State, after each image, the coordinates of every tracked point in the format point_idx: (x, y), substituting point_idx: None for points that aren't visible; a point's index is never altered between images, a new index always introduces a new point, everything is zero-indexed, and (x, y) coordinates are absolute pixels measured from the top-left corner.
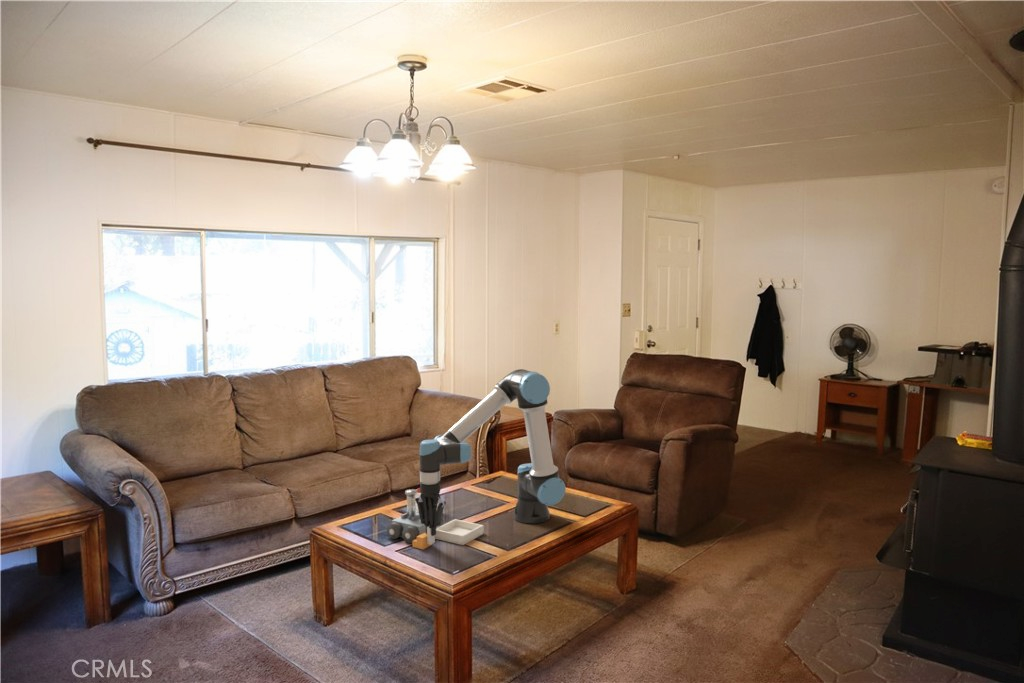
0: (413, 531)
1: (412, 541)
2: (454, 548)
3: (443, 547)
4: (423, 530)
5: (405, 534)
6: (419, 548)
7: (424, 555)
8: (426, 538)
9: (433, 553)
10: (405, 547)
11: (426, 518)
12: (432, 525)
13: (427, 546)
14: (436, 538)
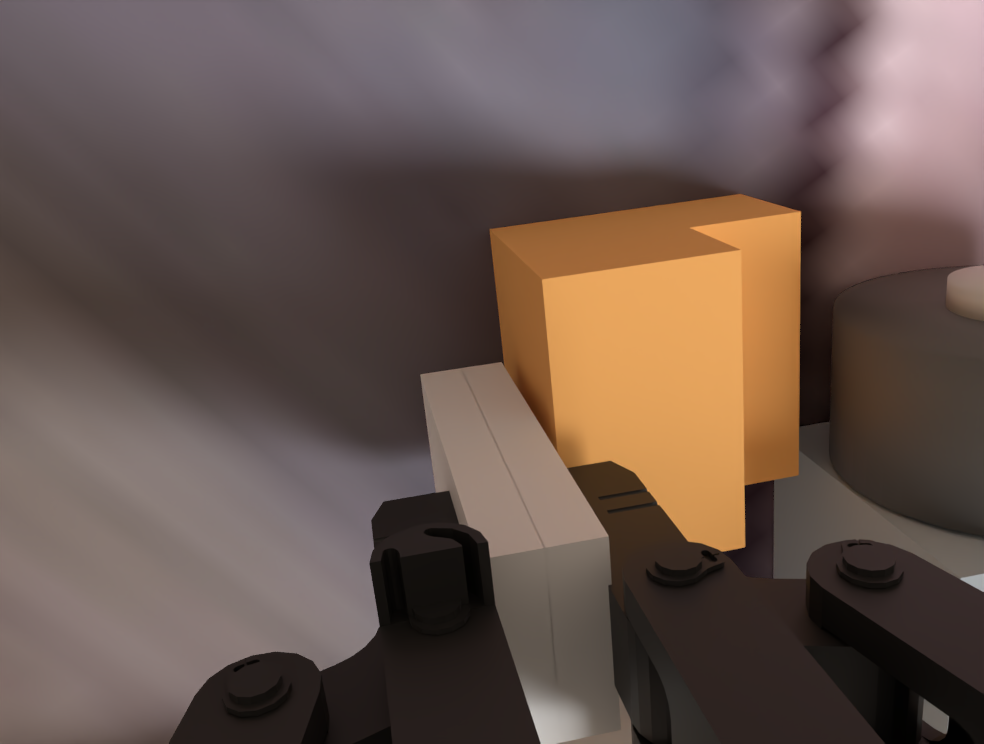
0: (967, 375)
1: (848, 295)
2: (57, 630)
3: (255, 535)
4: None
5: None
6: (578, 218)
7: (225, 10)
8: (540, 396)
9: (164, 212)
10: (834, 86)
11: (762, 740)
12: (392, 644)
13: (505, 365)
14: None
